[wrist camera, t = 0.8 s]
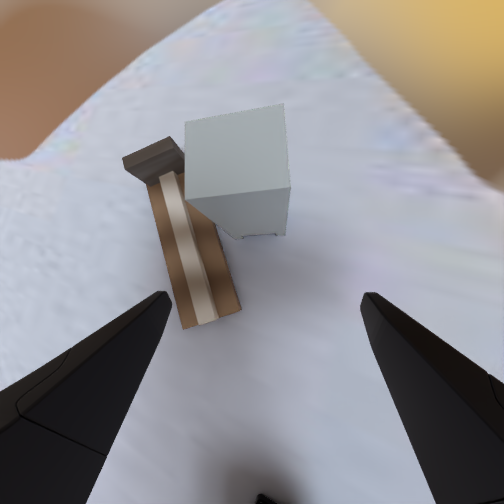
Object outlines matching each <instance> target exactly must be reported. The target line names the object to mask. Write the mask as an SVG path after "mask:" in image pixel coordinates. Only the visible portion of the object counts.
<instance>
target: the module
mask: <svg viewBox="0 0 504 504" xmlns="http://www.w3.org/2000/svg"><path fill="white" fill-rule="evenodd" d="M290 189H291V185H290V173H289V160H288V148H287V136H286V123H285V111H284V104H279V105H273V106H268V107H263V108H257V109H252V110H246V111H241V112H236V113H230V114H225V115H220V116H214V117H209V118H203V119H198V120H193V121H187V122H185V200H186V201H187V202H188V203H190V204H191V205H192V206H193V207H195V208H196V209H197V210H199V211H200V212H201V213H202V214H204V215H205V216H206V217H207V218H209V219H210V220H211V221H213V222H214V223H215V224H216V225H218V226H219V227H220V228H222V229H223V230H224V231H225V232H227V233H228V234H229V235H230V236H232V237H233V238H234V239H243V236H250V235H262V234H274V233H276V234H277V236H285V234H286V225H287V216H288V207H289V198H290Z"/></svg>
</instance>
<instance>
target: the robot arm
mask: <svg viewBox="0 0 504 504" xmlns="http://www.w3.org/2000/svg"><path fill="white" fill-rule="evenodd" d="M171 308H172V302H171V300H170V298H169V295H168V293H167V292H166V291H157V292H155V293H154V294H152V295H151V296H149V297H147V298H146V299H144V300H143V301H141V302H140V303H138V304H137V305H135V306H134V307H132V308H131V309H129V310H128V311H126V312H125V313H123V314H122V315H120V316H119V317H117V318H115V319H114V320H112V321H111V322H109V323H108V324H106V325H105V326H103V327H102V328H100V329H99V330H97V331H96V332H94V333H93V334H91V335H90V336H88V337H86V338H85V339H83V340H82V341H80V342H79V343H77V344H76V345H74V346H73V347H72V348H70V349H68V350H67V351H65V352H64V353H62V354H61V355H59V356H57V357H56V358H54V359H53V360H51V361H50V362H48V363H46V364H45V365H43V366H42V367H40V368H38V369H37V370H35V371H34V372H32V373H30V374H29V375H27V376H25V377H24V378H22V379H20V380H19V381H17V382H15V383H14V384H12V385H10V386H9V387H7V388H5V389H4V390H2V391H0V504H86V502H87V500H88V498H89V495H90V493H91V491H92V489H93V487H94V484H95V482H96V480H97V478H98V476H99V474H100V471H101V469H102V467H103V465H104V463H105V460H106V458H107V455H108V453H109V451H110V449H111V447H112V445H113V442H114V440H115V438H116V436H117V434H118V432H119V429H120V427H121V425H122V423H123V421H124V418H125V416H126V414H127V412H128V410H129V407H130V405H131V403H132V401H133V399H134V396H135V394H136V392H137V390H138V388H139V385H140V383H141V381H142V379H143V377H144V374H145V372H146V370H147V368H148V366H149V364H150V361H151V359H152V357H153V355H154V353H155V350H156V348H157V346H158V344H159V342H160V339H161V337H162V334H163V332H164V329H165V326H166V323H167V320H168V317H169V314H170V311H171ZM360 310H361V314H362V318H363V321H364V324H365V328H366V331H367V335H368V338H369V341H370V345H371V348H372V350H373V353H374V355H375V358H376V360H377V363H378V365H379V367H380V370H381V372H382V375H383V377H384V379H385V382H386V384H387V387H388V389H389V391H390V394H391V396H392V399H393V401H394V404H395V406H396V408H397V411H398V413H399V416H400V418H401V420H402V423H403V425H404V428H405V430H406V432H407V435H408V437H409V440H410V442H411V445H412V447H413V449H414V452H415V454H416V457H417V459H418V461H419V464H420V466H421V469H422V471H423V473H424V476H425V478H426V481H427V483H428V486H429V488H430V490H431V493H432V495H433V498H434V500H435V502H436V504H504V383H502V382H501V381H499V380H498V379H497V378H495V377H494V376H492V375H491V374H488V373H487V371H485V370H484V369H482V368H481V367H480V366H478V365H477V364H476V363H474V362H473V361H471V360H470V359H469V358H467V357H466V356H464V355H463V354H462V353H460V352H459V351H457V350H456V349H455V348H453V347H452V346H450V345H449V344H448V343H446V342H445V341H443V340H442V339H441V338H439V337H438V336H436V335H435V334H434V333H432V332H431V331H430V330H428V329H427V328H425V327H424V326H423V325H421V324H420V323H418V322H417V321H416V320H414V319H413V318H411V317H410V316H409V315H407V314H406V313H404V312H403V311H402V310H400V309H399V308H397V307H396V306H395V305H393V304H392V303H390V302H389V301H388V300H386V299H385V298H384V297H382V296H381V295H379V294H378V293H376V292H366V293H364V295H363V299H362V302H361V305H360ZM260 502H262V503H260ZM255 504H277V503H275V502H274V501H272V500H270V499H269V498H267V497H266V496H264V495H262V494H259V495H258V496H257V498H256V501H255Z"/></svg>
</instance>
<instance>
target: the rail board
mask: <svg viewBox="0 0 504 504" xmlns="http://www.w3.org/2000/svg"><path fill="white" fill-rule="evenodd" d="M122 160H123V164H124V168H125V170H126V171H128V172H129V173H131V174H132V175H134V176H135V177H137V178H138V179H140V180H141V181H143V182H144V183H145V184H146V186H147V190H148V194H149V198H150V202H151V206H152V210H153V214H154V218H155V222H156V226H157V230H158V233H159V237H160V241H161V245H162V249H163V253H164V257H165V261H166V265H167V269H168V273H169V277H170V281H171V285H172V289H173V293H174V297H175V300H176V304H177V308H178V312H179V316H180V320H181V324H182V328H183V330H184V329H187V328H190V327H193V326H196V325H202V324H205V323H208V322H211V321H215V320H217V319H218V318H220V317H223V316H226V315H229V314H232V313H235V312H239V311H240V310H242V309H241V306H240V303H239V299H238V296H237V293H236V290H235V287H234V283H233V280H232V277H231V274H230V271H229V267H228V264H227V261H226V258H225V255H224V251H223V248H222V245H221V242H220V239H219V236H218V232H217V229H216V226H215V223H214V222H213V221H211V220H210V219H209V218H207V217H206V216H205V215H204V214H202V213H201V212H200V211H199V210H197V209H196V208H195V207H193V206H192V205H191V204H190V203H188V202H187V201H186V200H185V154H184V153H183V152H182V150H181V149H180V148H179V147H178V145H177V144H176V143H175V142H174V140H173V139H172V138H171V137H170V136H169V137H167V138H165V139H162V140H160V141H158V142H156V143H154V144H151V145H149V146H147V147H145V148H143V149H141V150H138V151H136V152H134V153H132V154H130V155H127V156H125V157H123V158H122Z"/></svg>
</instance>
